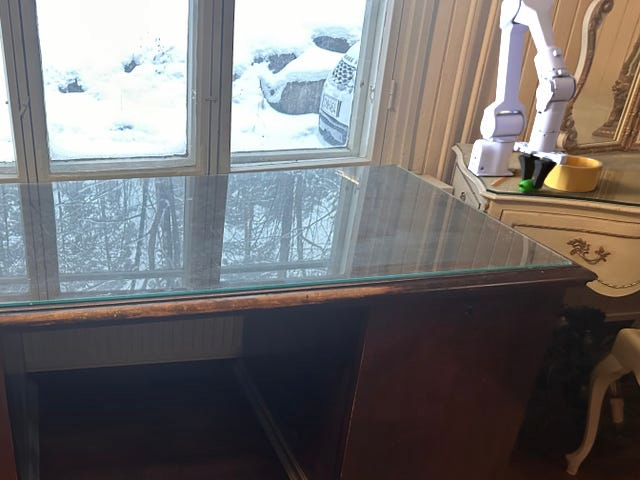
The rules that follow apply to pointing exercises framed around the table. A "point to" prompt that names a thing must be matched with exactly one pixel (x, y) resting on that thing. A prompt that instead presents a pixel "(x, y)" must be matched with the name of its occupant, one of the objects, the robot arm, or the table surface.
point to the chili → (527, 186)
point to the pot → (575, 174)
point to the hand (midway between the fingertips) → (531, 185)
